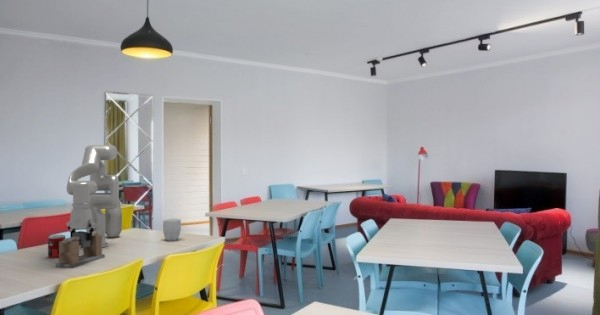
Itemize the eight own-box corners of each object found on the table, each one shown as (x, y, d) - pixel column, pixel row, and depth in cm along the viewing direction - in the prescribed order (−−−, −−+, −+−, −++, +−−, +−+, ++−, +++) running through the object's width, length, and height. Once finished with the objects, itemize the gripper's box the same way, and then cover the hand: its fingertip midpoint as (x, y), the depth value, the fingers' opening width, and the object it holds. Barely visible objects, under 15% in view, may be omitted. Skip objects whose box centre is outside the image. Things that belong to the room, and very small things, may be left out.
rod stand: (55, 266, 204) (55, 238, 204) (88, 255, 226) (88, 230, 225) (72, 268, 202) (72, 239, 202) (104, 257, 223) (104, 231, 223)
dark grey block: (72, 247, 212) (72, 232, 212) (79, 245, 217) (79, 231, 217) (82, 248, 210) (83, 233, 210) (90, 245, 215) (90, 232, 215)
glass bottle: (107, 235, 280) (107, 193, 279) (123, 235, 281) (123, 193, 280) (102, 238, 270) (102, 195, 269) (118, 238, 271) (118, 195, 271)
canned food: (49, 255, 225) (49, 235, 225) (66, 254, 228) (66, 234, 228) (46, 259, 218) (47, 238, 218) (64, 257, 221) (64, 236, 221)
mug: (165, 237, 276) (165, 217, 276) (182, 236, 278) (182, 217, 278) (161, 241, 262) (161, 221, 262) (179, 241, 263) (179, 220, 263)
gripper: (61, 206, 212) (61, 240, 212) (90, 208, 208) (90, 242, 208) (72, 204, 219) (72, 237, 219) (101, 206, 215) (100, 239, 215)
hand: (81, 239), depth 213 cm, fingers open, 9 cm apart
